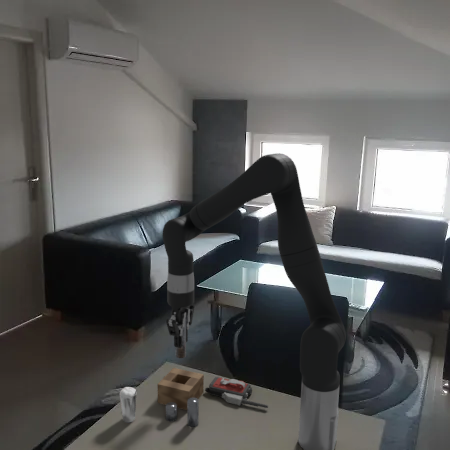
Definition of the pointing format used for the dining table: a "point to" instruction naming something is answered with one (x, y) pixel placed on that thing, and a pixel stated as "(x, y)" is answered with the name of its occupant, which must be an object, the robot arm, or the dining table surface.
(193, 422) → the pin medium
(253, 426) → the dining table surface
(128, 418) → the milkshake
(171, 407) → the pin short
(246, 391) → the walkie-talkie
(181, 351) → the pin long
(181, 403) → the hole block
